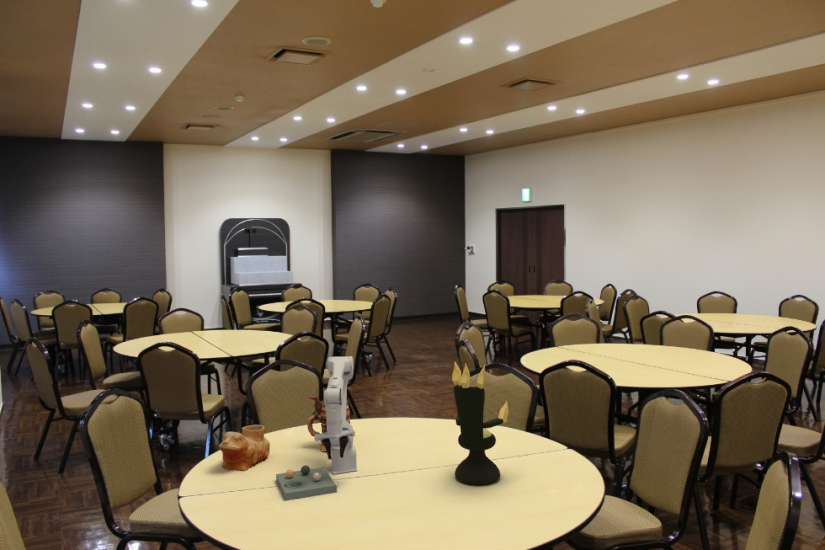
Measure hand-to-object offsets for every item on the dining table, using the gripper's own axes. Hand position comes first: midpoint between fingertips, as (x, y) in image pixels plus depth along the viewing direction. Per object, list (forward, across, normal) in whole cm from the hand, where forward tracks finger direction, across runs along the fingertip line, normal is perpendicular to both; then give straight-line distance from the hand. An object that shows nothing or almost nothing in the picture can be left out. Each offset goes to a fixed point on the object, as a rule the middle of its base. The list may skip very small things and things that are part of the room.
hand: (335, 457), depth 237 cm
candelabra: (+10, +48, -17) cm, 52 cm away
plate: (+10, -11, +3) cm, 15 cm away
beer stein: (+10, +9, +42) cm, 44 cm away
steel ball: (+6, -7, 0) cm, 9 cm away
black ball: (+6, -10, +8) cm, 14 cm away
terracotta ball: (+6, -16, +7) cm, 18 cm away
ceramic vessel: (+10, -28, +38) cm, 48 cm away
